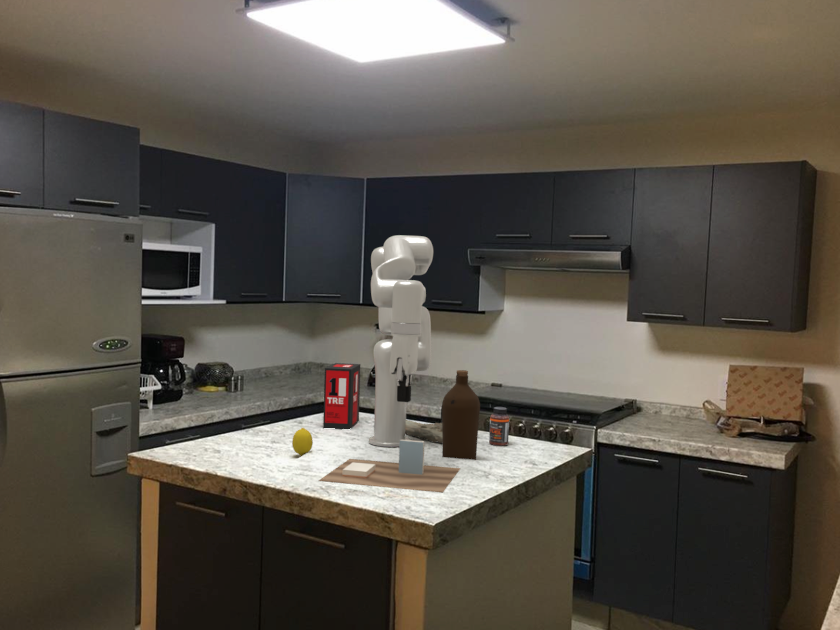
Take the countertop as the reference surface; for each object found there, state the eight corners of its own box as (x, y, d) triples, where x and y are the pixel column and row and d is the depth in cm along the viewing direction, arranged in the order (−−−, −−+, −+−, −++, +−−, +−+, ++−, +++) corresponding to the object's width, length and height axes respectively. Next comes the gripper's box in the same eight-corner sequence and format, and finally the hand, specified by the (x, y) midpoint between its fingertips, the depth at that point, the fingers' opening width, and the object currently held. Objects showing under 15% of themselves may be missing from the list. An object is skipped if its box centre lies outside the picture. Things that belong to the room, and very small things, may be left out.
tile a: (352, 462, 194) (342, 469, 186) (375, 464, 193) (366, 471, 185) (352, 468, 194) (342, 476, 187) (375, 470, 193) (366, 478, 185)
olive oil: (479, 464, 209) (482, 373, 208) (440, 463, 209) (443, 372, 208) (476, 456, 220) (480, 369, 219) (439, 454, 220) (442, 367, 219)
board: (349, 464, 205) (349, 458, 205) (460, 474, 198) (460, 468, 198) (318, 487, 182) (318, 480, 182) (442, 498, 175) (442, 492, 175)
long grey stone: (403, 429, 265) (379, 433, 259) (402, 413, 265) (378, 417, 259) (468, 442, 237) (443, 447, 231) (468, 425, 237) (442, 430, 231)
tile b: (400, 471, 193) (401, 439, 193) (423, 473, 192) (424, 441, 192) (398, 472, 192) (399, 440, 192) (422, 474, 191) (423, 442, 190)
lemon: (308, 459, 209) (308, 430, 209) (288, 457, 210) (289, 428, 210) (314, 455, 214) (315, 426, 214) (296, 453, 215) (296, 425, 215)
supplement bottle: (486, 444, 236) (487, 408, 235) (492, 441, 241) (493, 405, 241) (505, 447, 233) (506, 410, 233) (510, 443, 239) (511, 407, 238)
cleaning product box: (349, 429, 252) (351, 369, 252) (323, 428, 253) (324, 368, 252) (358, 421, 269) (360, 364, 268) (333, 419, 270) (335, 363, 269)
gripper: (400, 327, 203) (398, 396, 204) (383, 330, 189) (380, 404, 190) (427, 328, 201) (425, 398, 202) (412, 332, 187) (410, 407, 188)
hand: (403, 401), depth 196 cm, fingers closed
